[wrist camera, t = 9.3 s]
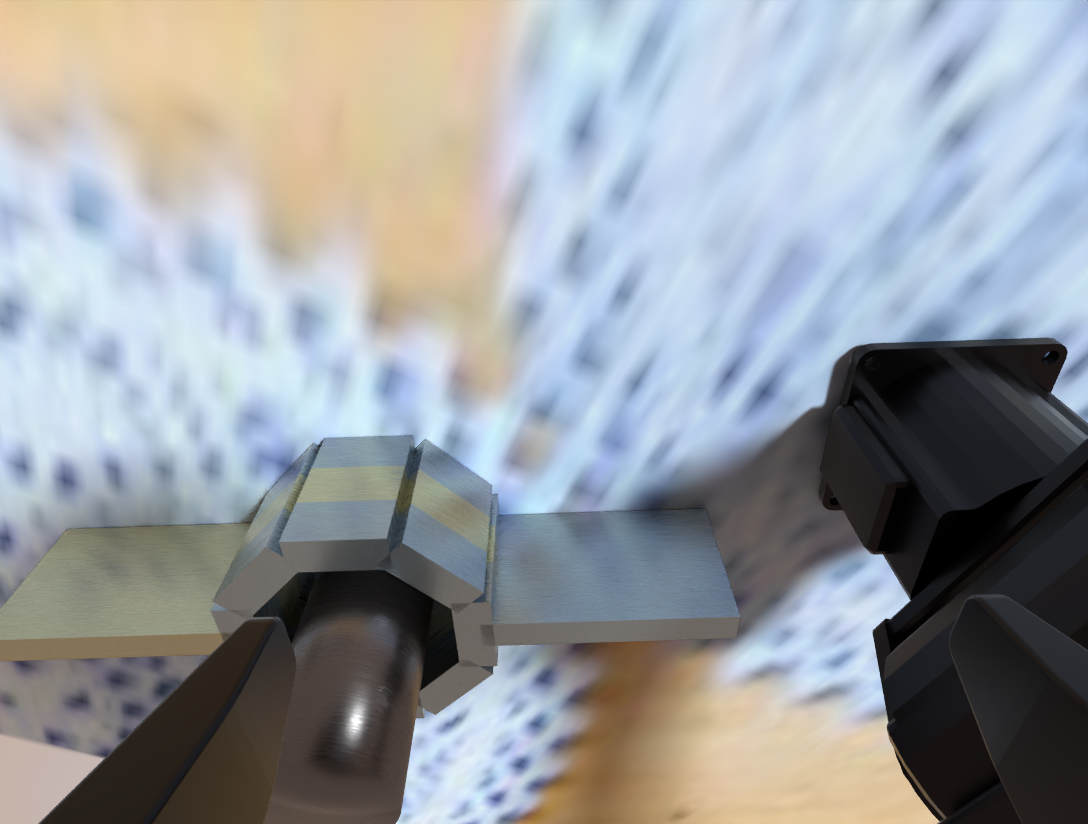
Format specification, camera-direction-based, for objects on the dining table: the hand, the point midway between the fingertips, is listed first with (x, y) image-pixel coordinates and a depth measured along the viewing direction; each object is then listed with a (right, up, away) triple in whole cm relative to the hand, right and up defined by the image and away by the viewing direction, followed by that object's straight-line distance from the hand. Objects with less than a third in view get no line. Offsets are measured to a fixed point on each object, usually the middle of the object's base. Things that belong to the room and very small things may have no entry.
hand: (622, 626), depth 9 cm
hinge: (-7, -1, +16) cm, 18 cm away
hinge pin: (-7, -2, +16) cm, 18 cm away
